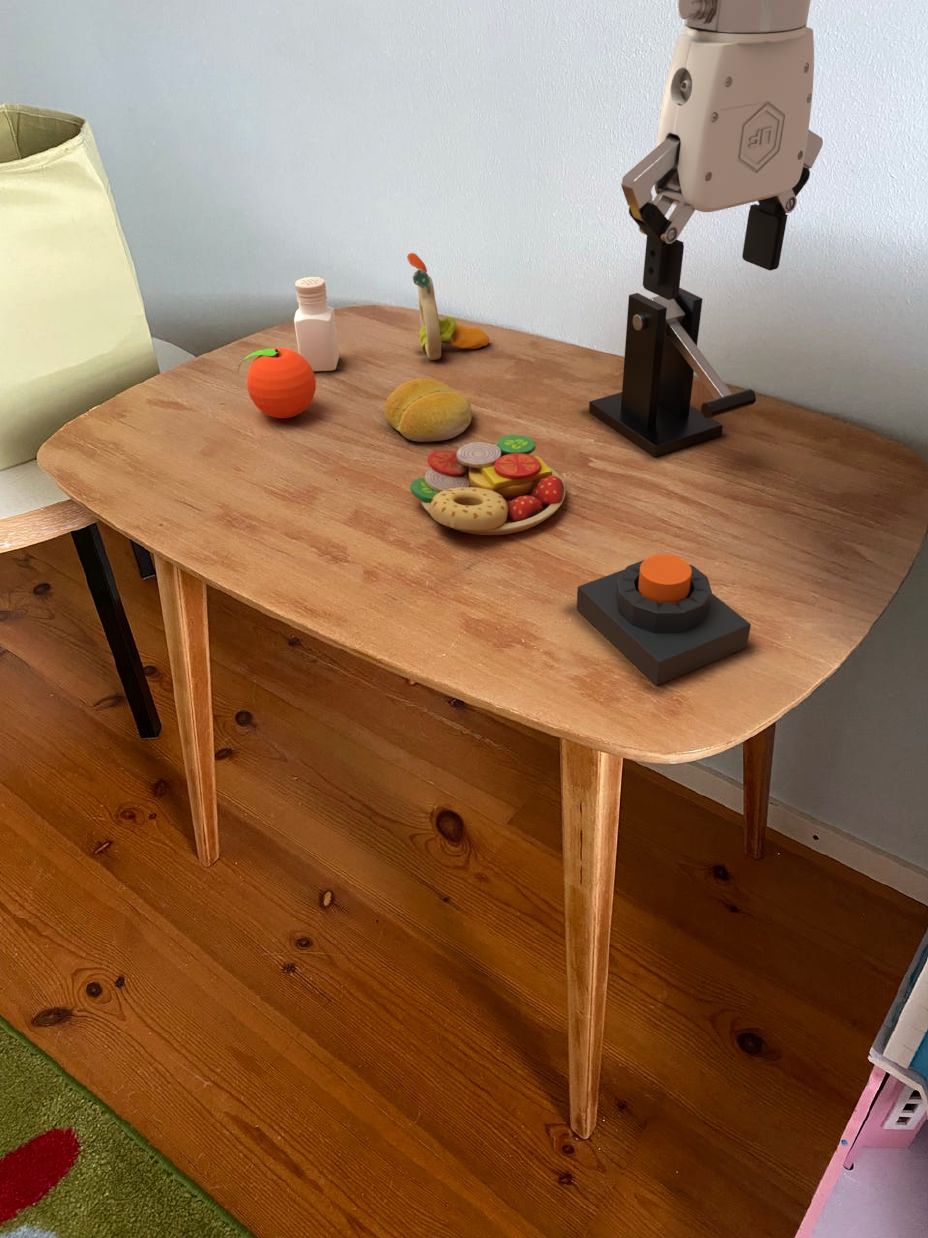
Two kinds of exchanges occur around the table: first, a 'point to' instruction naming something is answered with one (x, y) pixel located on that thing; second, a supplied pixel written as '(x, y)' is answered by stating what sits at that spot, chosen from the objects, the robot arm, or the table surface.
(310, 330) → the salt shaker
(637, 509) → the table surface
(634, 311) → the bracket
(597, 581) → the control block
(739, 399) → the lever
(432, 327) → the rattle
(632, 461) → the table surface
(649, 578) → the button
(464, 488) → the toy food set
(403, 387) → the bread roll
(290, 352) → the clementine
